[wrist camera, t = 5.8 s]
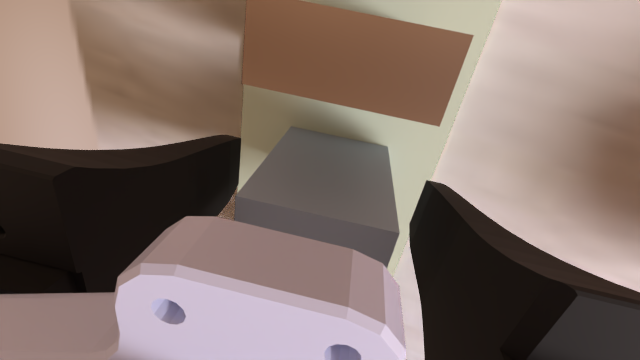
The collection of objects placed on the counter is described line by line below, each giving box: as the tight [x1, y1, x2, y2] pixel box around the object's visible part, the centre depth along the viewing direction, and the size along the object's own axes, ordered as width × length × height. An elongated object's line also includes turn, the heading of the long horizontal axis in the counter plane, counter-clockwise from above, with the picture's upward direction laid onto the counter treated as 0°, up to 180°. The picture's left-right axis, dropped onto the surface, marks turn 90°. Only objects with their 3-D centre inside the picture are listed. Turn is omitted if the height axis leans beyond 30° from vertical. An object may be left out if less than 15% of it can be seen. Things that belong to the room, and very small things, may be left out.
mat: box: [237, 0, 502, 277], centre depth 12 cm, size 25×9×1 cm, turn 170°
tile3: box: [242, 0, 474, 127], centre depth 9 cm, size 2×4×6 cm, turn 80°
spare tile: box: [234, 126, 400, 269], centre depth 11 cm, size 2×4×6 cm, turn 80°
